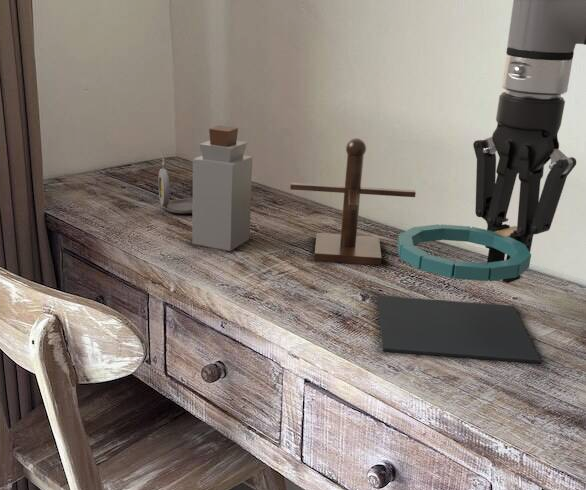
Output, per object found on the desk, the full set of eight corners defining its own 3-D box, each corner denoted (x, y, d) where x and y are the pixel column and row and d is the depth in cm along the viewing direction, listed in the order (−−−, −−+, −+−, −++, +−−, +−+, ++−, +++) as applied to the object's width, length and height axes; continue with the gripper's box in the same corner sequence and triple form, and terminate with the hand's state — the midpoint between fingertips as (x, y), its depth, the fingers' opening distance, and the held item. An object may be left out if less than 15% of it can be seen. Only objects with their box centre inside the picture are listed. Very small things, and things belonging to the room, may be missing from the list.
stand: (403, 237, 135) (415, 129, 128) (412, 278, 117) (427, 156, 111) (290, 229, 136) (296, 122, 130) (283, 268, 119) (289, 148, 112)
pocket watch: (210, 210, 145) (211, 155, 141) (175, 220, 139) (175, 162, 135) (178, 200, 150) (178, 147, 146) (143, 209, 144) (142, 153, 140)
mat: (513, 308, 108) (513, 305, 108) (540, 363, 94) (540, 360, 93) (377, 298, 110) (377, 295, 110) (382, 351, 95) (383, 348, 95)
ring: (523, 238, 106) (525, 226, 105) (554, 286, 90) (556, 273, 90) (393, 229, 107) (395, 217, 107) (402, 275, 92) (403, 261, 91)
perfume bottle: (212, 231, 134) (214, 122, 127) (249, 238, 131) (253, 127, 124) (192, 243, 128) (193, 129, 121) (230, 251, 125) (233, 134, 119)
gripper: (461, 86, 100) (437, 265, 109) (573, 106, 89) (536, 302, 98) (498, 82, 104) (472, 254, 113) (608, 100, 94) (570, 289, 102)
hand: (502, 276), depth 106 cm, fingers closed on ring, 2 cm apart
